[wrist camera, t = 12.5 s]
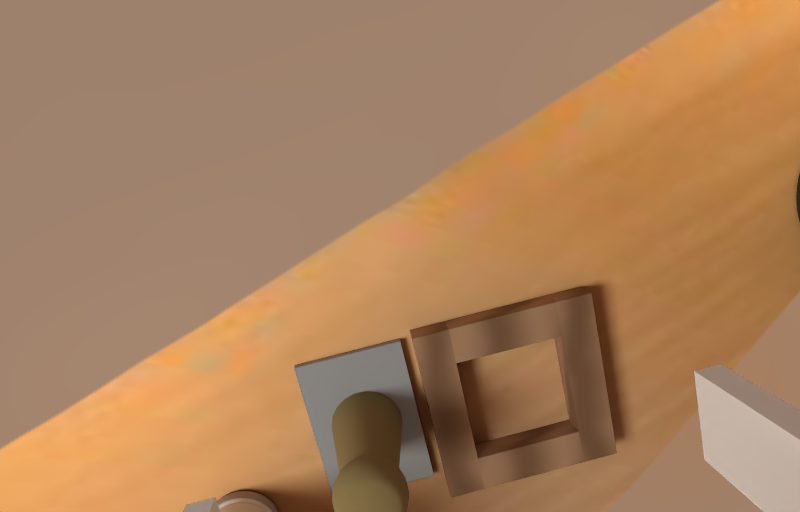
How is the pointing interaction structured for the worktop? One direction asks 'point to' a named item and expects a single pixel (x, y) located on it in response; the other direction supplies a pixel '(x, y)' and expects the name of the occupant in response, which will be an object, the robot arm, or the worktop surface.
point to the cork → (368, 455)
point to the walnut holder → (501, 331)
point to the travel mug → (245, 502)
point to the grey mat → (359, 373)
